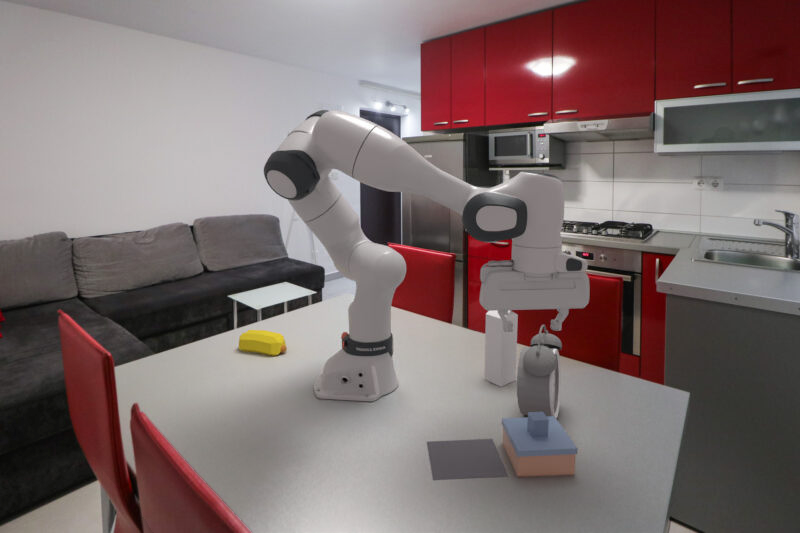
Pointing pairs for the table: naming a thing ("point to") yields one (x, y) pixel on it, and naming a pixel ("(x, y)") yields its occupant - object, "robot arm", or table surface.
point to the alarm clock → (540, 375)
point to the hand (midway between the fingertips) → (531, 330)
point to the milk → (500, 349)
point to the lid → (538, 435)
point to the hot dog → (262, 342)
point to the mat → (465, 459)
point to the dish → (539, 462)
